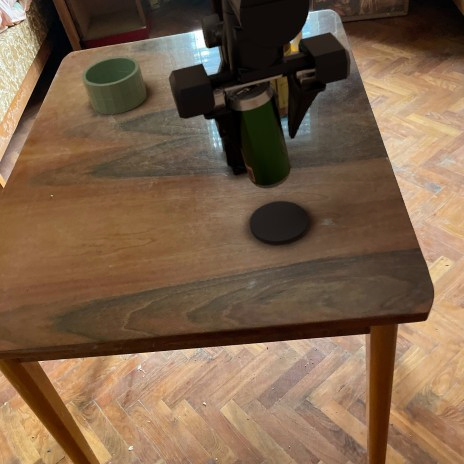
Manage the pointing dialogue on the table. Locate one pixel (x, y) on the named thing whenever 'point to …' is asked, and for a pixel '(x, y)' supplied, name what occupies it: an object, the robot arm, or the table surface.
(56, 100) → the table surface
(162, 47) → the table surface
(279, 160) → the beer can
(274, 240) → the black coaster
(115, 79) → the pot
